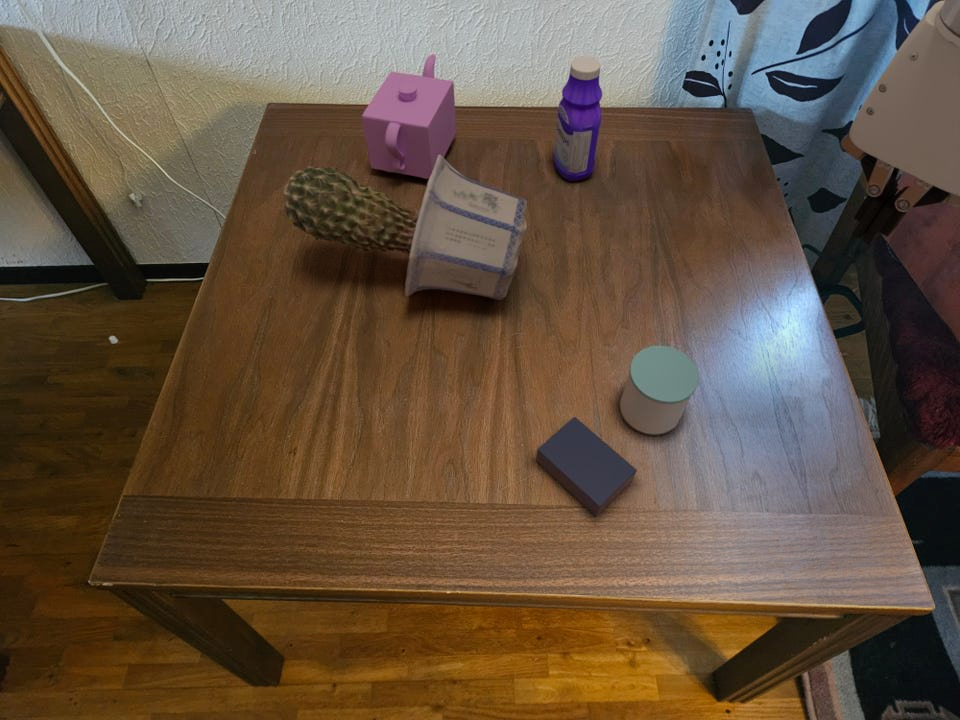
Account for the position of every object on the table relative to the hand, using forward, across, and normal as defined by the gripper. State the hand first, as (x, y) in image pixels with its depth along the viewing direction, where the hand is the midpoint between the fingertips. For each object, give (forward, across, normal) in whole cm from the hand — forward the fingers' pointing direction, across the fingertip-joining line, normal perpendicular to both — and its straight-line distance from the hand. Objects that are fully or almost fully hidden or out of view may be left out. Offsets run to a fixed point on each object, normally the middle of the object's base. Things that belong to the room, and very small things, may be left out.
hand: (868, 232), depth 54 cm
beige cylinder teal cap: (+25, +8, +15) cm, 31 cm away
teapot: (+27, +64, 0) cm, 69 cm away
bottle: (+27, +44, -15) cm, 54 cm away
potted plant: (+27, +44, +17) cm, 54 cm away
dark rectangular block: (+27, +8, +22) cm, 36 cm away
